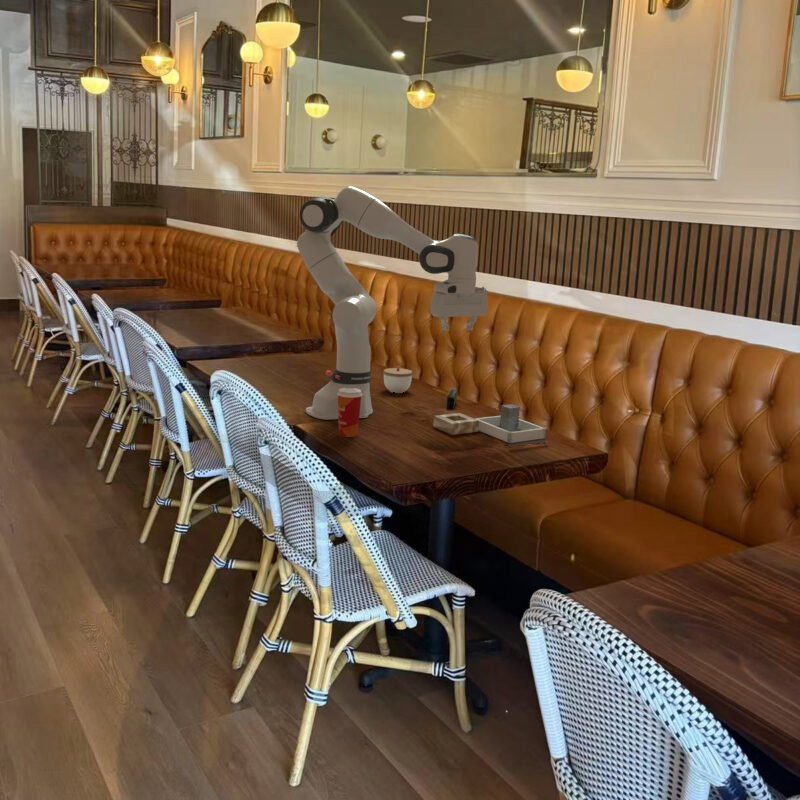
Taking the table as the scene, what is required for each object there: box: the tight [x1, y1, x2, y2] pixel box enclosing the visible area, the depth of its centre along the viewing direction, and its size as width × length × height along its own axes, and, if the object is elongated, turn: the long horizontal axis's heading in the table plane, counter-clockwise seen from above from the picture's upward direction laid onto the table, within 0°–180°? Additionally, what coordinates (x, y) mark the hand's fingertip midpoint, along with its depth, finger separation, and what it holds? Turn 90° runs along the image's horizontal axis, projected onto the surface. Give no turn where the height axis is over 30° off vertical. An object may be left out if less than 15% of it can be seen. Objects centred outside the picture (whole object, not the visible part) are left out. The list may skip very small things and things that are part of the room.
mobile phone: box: [446, 389, 458, 410], centre depth 309 cm, size 5×3×15 cm
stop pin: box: [499, 403, 521, 432], centre depth 269 cm, size 4×4×9 cm
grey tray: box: [474, 415, 547, 448], centre depth 270 cm, size 14×18×4 cm
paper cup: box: [337, 388, 362, 438], centre depth 263 cm, size 8×8×14 cm
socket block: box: [432, 412, 479, 436], centre depth 271 cm, size 10×10×5 cm
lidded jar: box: [383, 365, 413, 394], centre depth 325 cm, size 11×11×9 cm
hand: (457, 330), depth 278 cm, fingers open, 8 cm apart
